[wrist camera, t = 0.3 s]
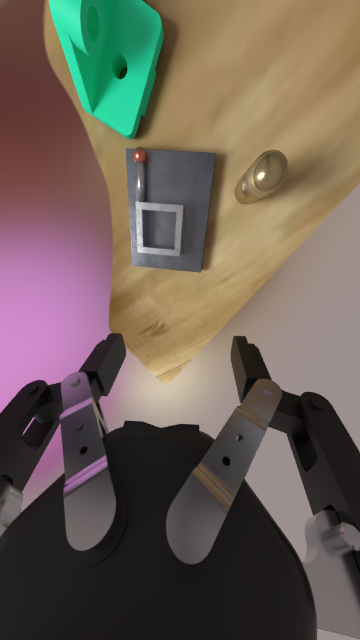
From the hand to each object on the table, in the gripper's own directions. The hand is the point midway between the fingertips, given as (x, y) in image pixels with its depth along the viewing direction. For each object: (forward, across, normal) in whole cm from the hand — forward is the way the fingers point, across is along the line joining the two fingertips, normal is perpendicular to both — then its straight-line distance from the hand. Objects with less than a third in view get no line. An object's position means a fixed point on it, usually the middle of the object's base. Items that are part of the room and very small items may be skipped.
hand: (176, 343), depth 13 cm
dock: (+29, +4, -6) cm, 29 cm away
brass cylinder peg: (+28, -10, -10) cm, 32 cm away
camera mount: (+31, +9, -24) cm, 40 cm away
